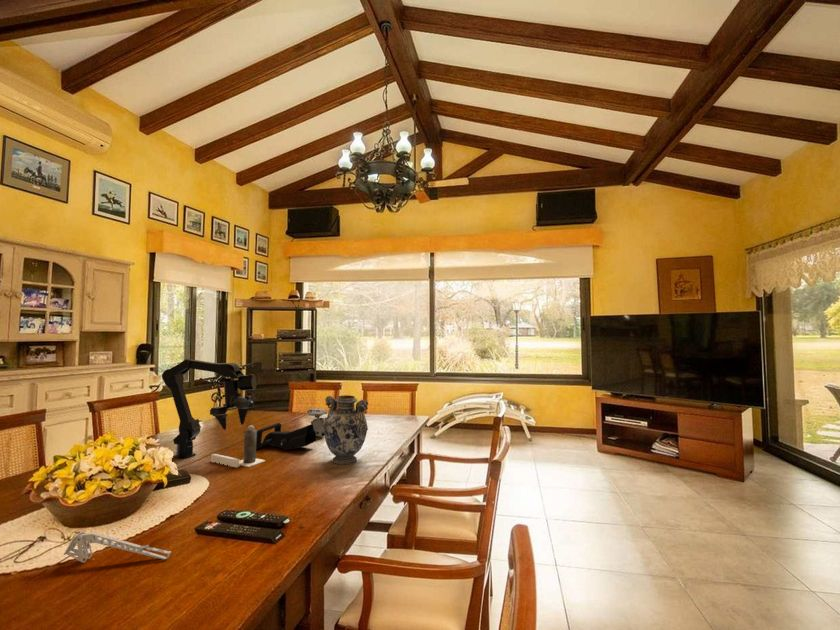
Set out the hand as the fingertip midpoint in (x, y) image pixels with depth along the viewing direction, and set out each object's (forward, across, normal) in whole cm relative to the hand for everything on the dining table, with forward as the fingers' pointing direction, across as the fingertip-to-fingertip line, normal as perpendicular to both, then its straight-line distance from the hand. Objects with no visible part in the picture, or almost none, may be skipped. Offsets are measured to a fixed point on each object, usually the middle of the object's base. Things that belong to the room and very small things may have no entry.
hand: (233, 426), depth 180 cm
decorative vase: (+19, +19, -44) cm, 52 cm away
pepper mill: (+14, -2, -11) cm, 18 cm away
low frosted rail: (+13, -9, -4) cm, 16 cm away
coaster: (+14, -2, -11) cm, 18 cm away
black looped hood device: (+15, +22, -9) cm, 28 cm away
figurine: (+16, +45, -7) cm, 48 cm away
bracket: (+14, -70, -42) cm, 82 cm away
